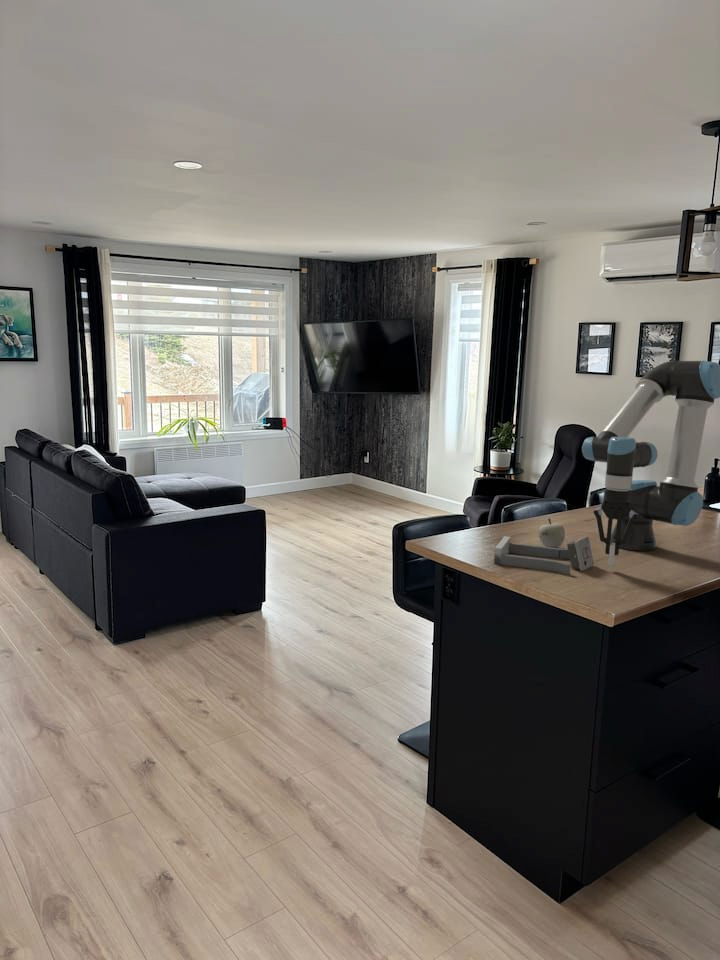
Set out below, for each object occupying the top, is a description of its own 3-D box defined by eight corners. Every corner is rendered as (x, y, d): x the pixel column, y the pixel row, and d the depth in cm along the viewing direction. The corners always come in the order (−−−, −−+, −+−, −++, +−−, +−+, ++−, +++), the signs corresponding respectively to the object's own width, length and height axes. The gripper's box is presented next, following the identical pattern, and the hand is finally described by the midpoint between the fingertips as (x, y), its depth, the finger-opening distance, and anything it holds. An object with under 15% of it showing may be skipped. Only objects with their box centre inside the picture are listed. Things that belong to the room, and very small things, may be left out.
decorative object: (562, 552, 236) (565, 523, 234) (536, 549, 238) (538, 520, 237) (564, 546, 244) (567, 518, 242) (538, 543, 247) (540, 515, 245)
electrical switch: (582, 572, 214) (582, 541, 213) (566, 570, 217) (565, 540, 216) (594, 566, 221) (593, 536, 220) (578, 564, 224) (577, 535, 223)
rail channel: (575, 557, 229) (576, 542, 228) (569, 575, 210) (570, 558, 209) (504, 549, 237) (505, 534, 237) (492, 565, 218) (493, 549, 217)
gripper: (641, 488, 213) (633, 564, 216) (595, 485, 217) (589, 559, 221) (641, 492, 206) (633, 570, 210) (594, 488, 210) (587, 565, 214)
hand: (610, 564), depth 215 cm, fingers closed
